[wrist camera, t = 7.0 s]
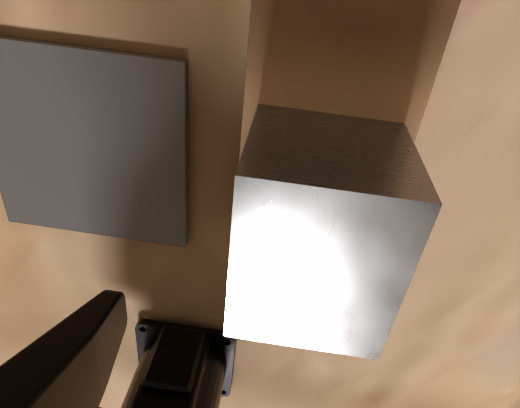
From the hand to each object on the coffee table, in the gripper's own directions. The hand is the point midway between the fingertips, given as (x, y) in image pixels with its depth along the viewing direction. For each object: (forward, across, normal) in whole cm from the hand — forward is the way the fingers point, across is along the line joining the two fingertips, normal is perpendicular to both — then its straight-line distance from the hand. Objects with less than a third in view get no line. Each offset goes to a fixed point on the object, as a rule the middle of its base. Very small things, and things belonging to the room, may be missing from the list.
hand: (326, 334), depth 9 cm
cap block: (+8, 0, +1) cm, 8 cm away
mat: (+12, +11, +3) cm, 16 cm away
